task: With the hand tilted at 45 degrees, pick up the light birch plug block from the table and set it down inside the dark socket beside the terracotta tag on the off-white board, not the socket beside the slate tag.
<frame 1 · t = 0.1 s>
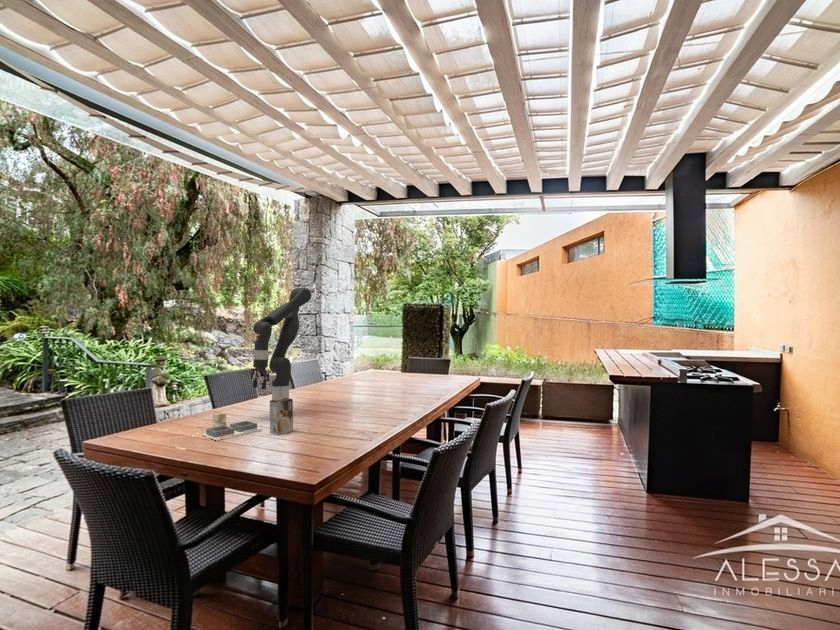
hand: (259, 388, 244), 17 cm above the table, tool pointing down, fingers open, 8 cm apart
socket board: (232, 433, 218), on the table
coffee box: (281, 432, 220), on the table
plug: (219, 429, 226), on the table
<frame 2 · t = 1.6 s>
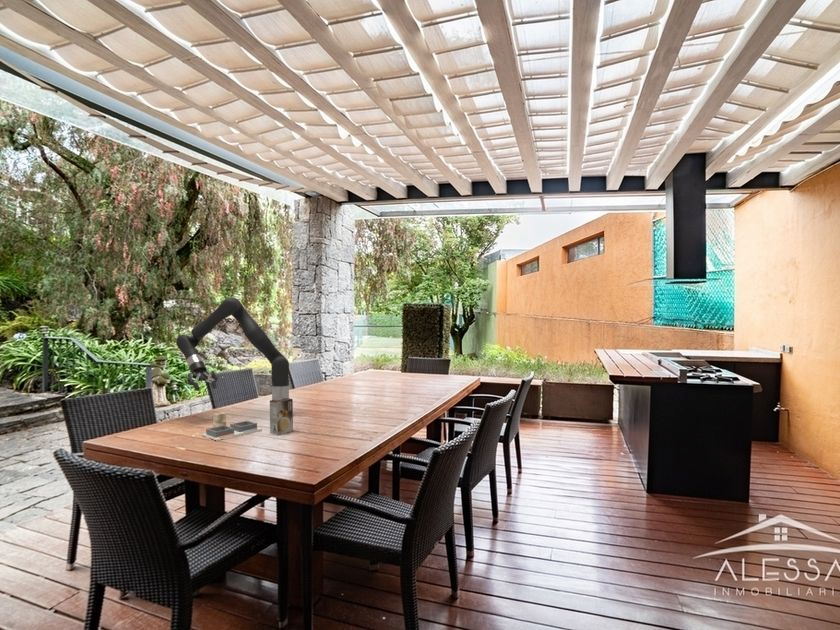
hand: (206, 389, 234), 19 cm above the table, tool tilted 45°, fingers open, 8 cm apart
nothing on the table moved.
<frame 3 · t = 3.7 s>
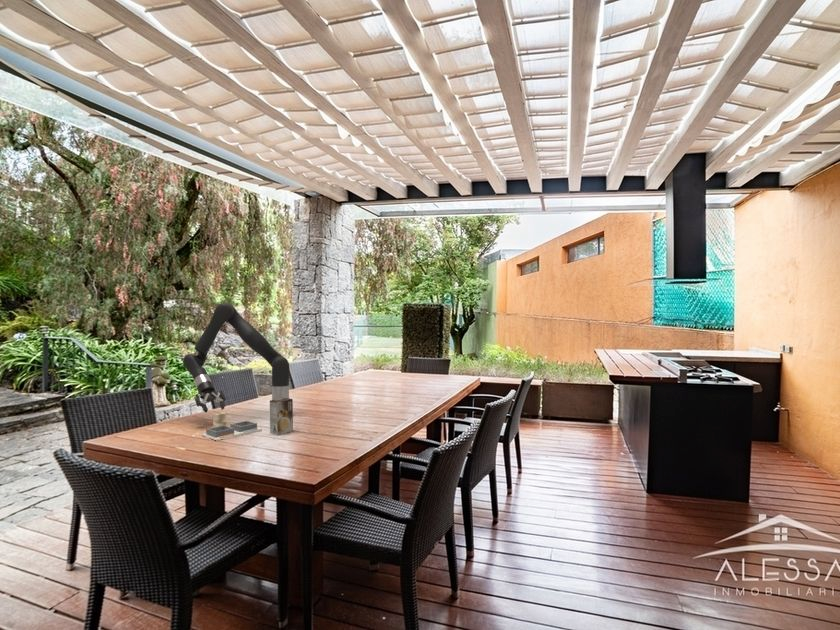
hand: (215, 410, 228), 9 cm above the table, tool tilted 45°, fingers open, 8 cm apart
nothing on the table moved.
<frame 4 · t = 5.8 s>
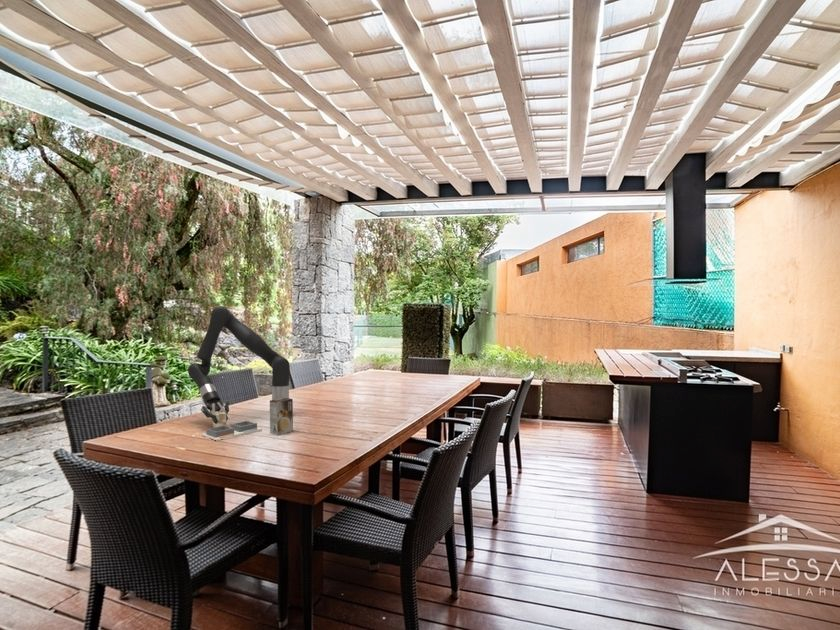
hand: (221, 421, 224), 4 cm above the table, tool tilted 45°, fingers closed on plug, 4 cm apart
plug: (219, 429, 226), on the table, touching gripper
everything else where it was.
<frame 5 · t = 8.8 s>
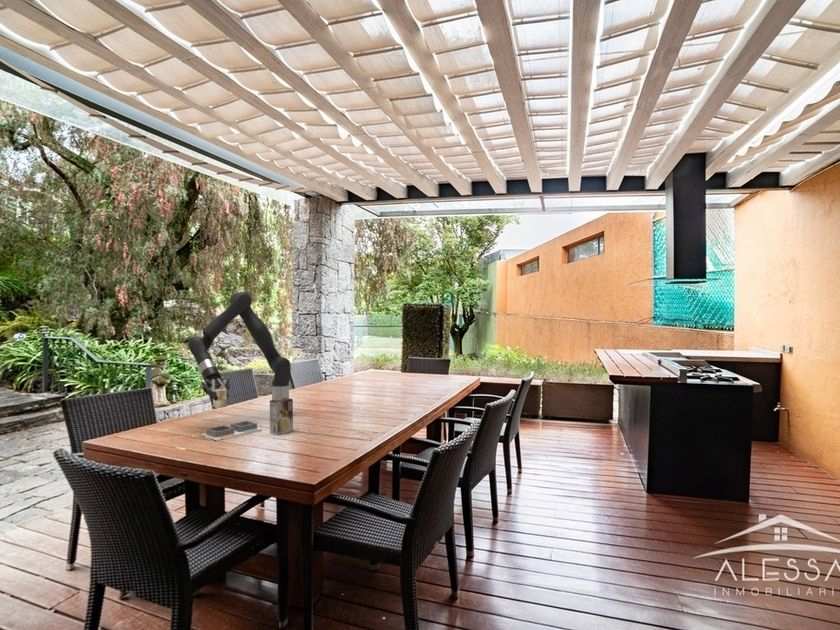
hand: (221, 398, 212), 18 cm above the table, tool tilted 45°, fingers closed on plug, 4 cm apart
plug: (219, 406, 213), point 14 cm above the table, touching gripper
everything else where it was.
when the fingers open (6 cm above the table, at t = 11.9 s): plug drops 1 cm, resting on socket board.
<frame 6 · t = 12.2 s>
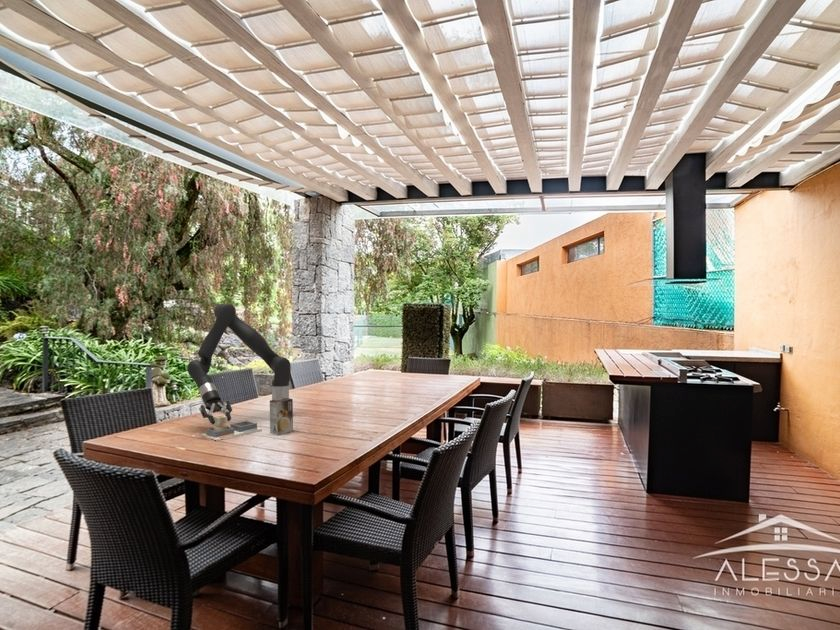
hand: (221, 421, 212), 7 cm above the table, tool tilted 45°, fingers open, 7 cm apart
plug: (220, 433, 214), point 1 cm above the table, touching socket board
everything else where it was.
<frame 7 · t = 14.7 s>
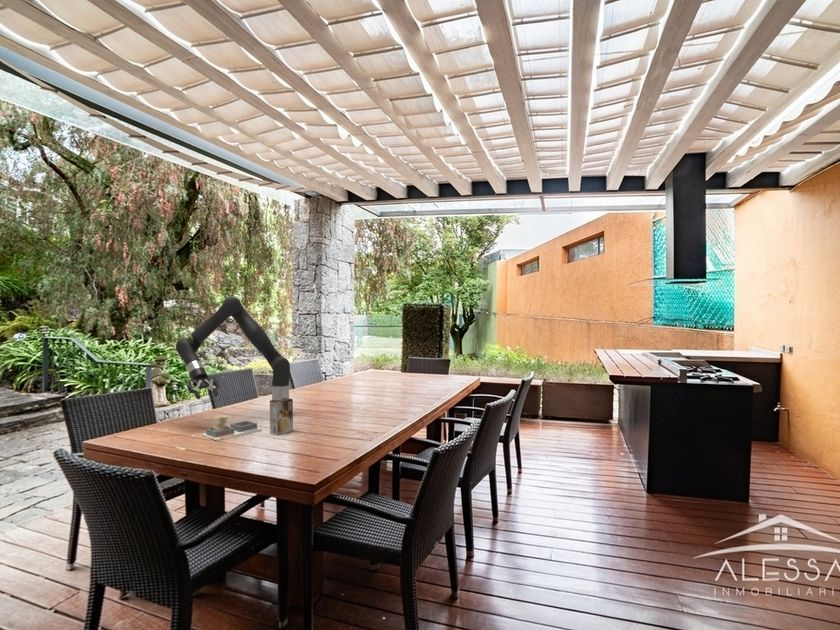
hand: (208, 397, 221), 17 cm above the table, tool tilted 45°, fingers open, 8 cm apart
nothing on the table moved.
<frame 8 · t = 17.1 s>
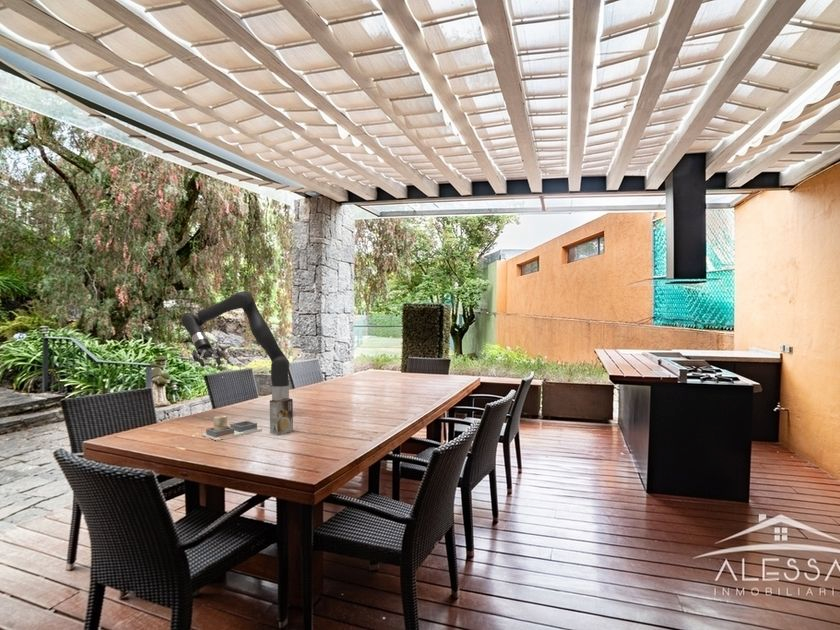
hand: (211, 365, 238), 31 cm above the table, tool tilted 45°, fingers open, 8 cm apart
nothing on the table moved.
at the end: plug 0.1 cm from the target spot on the socket board, point 1.0 cm above the socket board's base; plug tilted 0°; the gripper is holding nothing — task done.
